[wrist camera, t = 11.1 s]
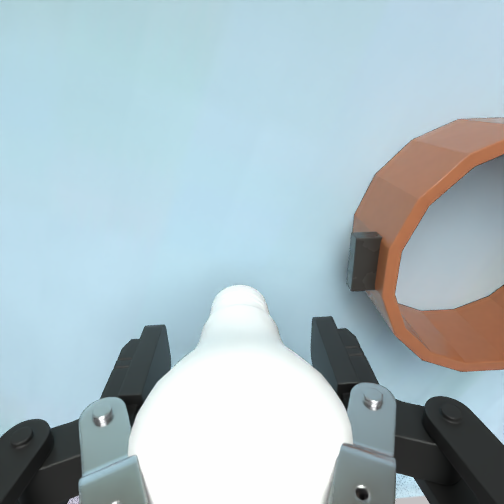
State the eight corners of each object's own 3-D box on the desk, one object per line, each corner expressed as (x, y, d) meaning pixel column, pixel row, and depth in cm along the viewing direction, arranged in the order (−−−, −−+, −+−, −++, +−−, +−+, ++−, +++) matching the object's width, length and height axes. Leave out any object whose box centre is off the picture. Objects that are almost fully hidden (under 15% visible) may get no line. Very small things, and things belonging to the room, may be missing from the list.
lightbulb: (188, 356, 18) (130, 686, 8) (161, 249, 16) (28, 534, 5) (306, 342, 18) (396, 654, 8) (298, 231, 15) (416, 486, 5)
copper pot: (325, 323, 26) (348, 378, 21) (340, 122, 20) (376, 132, 15) (543, 311, 26) (616, 363, 21) (618, 113, 20) (743, 120, 15)
